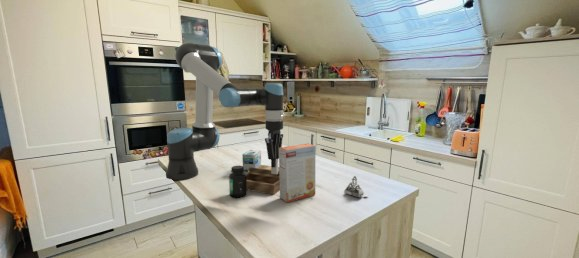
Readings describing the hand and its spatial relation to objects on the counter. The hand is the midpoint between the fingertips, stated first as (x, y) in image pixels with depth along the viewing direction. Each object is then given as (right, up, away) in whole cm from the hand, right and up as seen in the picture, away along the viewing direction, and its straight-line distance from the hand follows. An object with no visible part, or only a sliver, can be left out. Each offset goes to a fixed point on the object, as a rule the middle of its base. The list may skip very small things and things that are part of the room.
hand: (274, 173), depth 118 cm
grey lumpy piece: (+36, -8, -5) cm, 37 cm away
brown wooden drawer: (-6, -6, +2) cm, 9 cm away
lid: (-2, -1, +9) cm, 9 cm away
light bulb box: (-13, -3, +22) cm, 26 cm away
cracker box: (+10, -8, -9) cm, 16 cm away
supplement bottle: (-14, -8, -8) cm, 18 cm away
